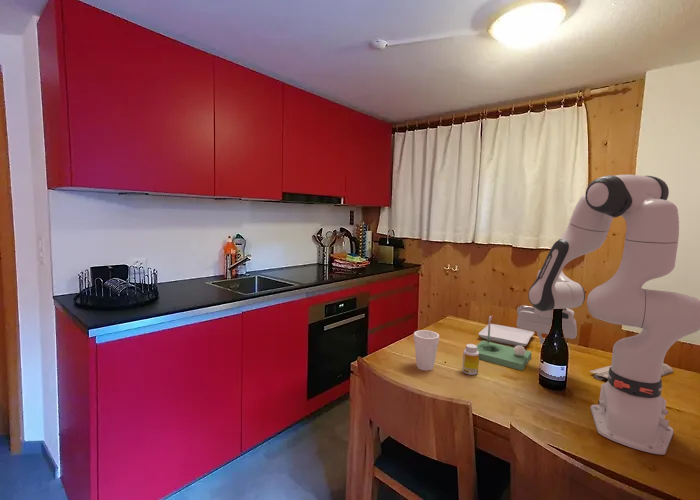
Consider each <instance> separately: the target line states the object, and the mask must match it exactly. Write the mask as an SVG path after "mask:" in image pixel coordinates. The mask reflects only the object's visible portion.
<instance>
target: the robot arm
mask: <svg viewBox="0 0 700 500" xmlns="http://www.w3.org/2000/svg"><path fill="white" fill-rule="evenodd" d="M669 192H670V189H669V187H668V184H667V183H666V182H665V181H664V180H663V179H661V178H659V177H656V176H653V175H636V174H626V173H625V174H616V175H612V174H609V175H605V176H604V175H603V176H601V177H600V176H599V177H598V178H596V179H594V180H592V181H591V182H590V183H588V185H587V187H586V190H585V193H584V194H582V195H581V197H580V198H579V199H578V201H577V203H576V205H575V207H574V208H573V209H574V210H573V212H572V214H571V216H570V219H569V223H568V224H567V225H568V226H567V228H566V229H565V231H564V233H563V234H562V235H561V237H560V238H559V239H558V240H556V241H555V242H554V243H553V245H552V246H551V248H550V250H549V252H548V254H547V255H546V258H545V260H544V262H543V264H542V267H541V269H539V270H538V271H537V276H536V279H535V280H534V282H533V283H532V285H531V286H530V287H529V289H528V301H529V303H530V304H531V305H532V306H531V305H530V306H529V305H523V304H522V305H519V306H518V307H517V308H516V314H517V320H516V328H518V329H523V330H527V331H532V332H534V333H536V334H537V337H538V339H539V344H542V345H544V344H543V343H544V341H545V339H546V338H544V337H543V336H542V334H546V335H548V334H549V332H550V329H551V326H552V319H553V309H563V311H562V329H563V334H564V337H563V338H567V339H571V340H574V339H576V338H577V333H578V330H577V329H578V326H577V325H578V324H577V321H576V319H575V318H574V317H575V311H574V310H573V309H575V308H579V307H582V305H583V304H584V303H585V300H586V307H587V310H588V312H589V314H590V315H591V316H592V317H593V318H595V319H597V320H601V321H604V322H607V323H609V324H612V325H613V324H614V325H619V326H626V327H634V328H640V329H642V330H641V331H640V332H639V333H637V334H635V335H633V336H627V337H623V338H620V339H619V340H617V341H616V342H615V343H614V344H613V347H612V357H611V365H610V366H611V367H610V368H609V372H608V378H607V381H606V382H603V383H601V384H600V385H601V386H600V394H599V400H598V402H597V404H591V405H590V411H591V415H592V417H593V422H594V424H595V427H596V430H597V433H598V434H600V435H601V436H603V437H604V438H607V439H609V440H610V441H612V442H615V443H618V444H621V445H623V446H627V447H629V448H632V449H635V450H637V451H638V450H639V451H642V452H646V453H649V454H655V455H666V453H667V450H668V448H669V444H670V443H671V440H672V438H673V436H674V429H673V427H671V426H670V420H669V419H665V417H666V416H668V415H669V410H668V409H666V407H667V400H666V399H665V398H664V397H662V396H663V395H661V394H662V390H663V380H662V378H661V377H662V376H661V371H662V366H663V363H664V361H665V357H666V354H667V352H668V351H669V349H670V348H671V347H672V346H673V345H674V344H675V343H676V342H677V341H679V340H681V339H682V338H685V337H686V336H688V335H692V334H695V333H697V332H698V331H700V299H698V298H697V297H695V296H692V295H691V296H690V295H686V294H683V293H679V292H675V291H666V290H657V289H649V288H646V289H645V288H643V286H644V285H645V283H647V282H649V281H651V280H655V279H660V278H663V277H665V276H667V275H669V274H671V273H672V272H673V270H674V269H675V267H676V261H677V260H676V259H677V252H678V247H679V246H678V245H679V237H680V236H679V235H680V220H679V218H680V217H679V209H678V207H677V206H676V204H675V203H673V202H672V201H669V200H668V198H669V194H670V193H669ZM620 216H621V218H623V219H624V221H625V223H626V229H625V235H624V236H625V238H624V244H623V245H624V247H623V253H622V256H621V260H620V264H619V267H618V268H617V270H616V272H615V273H614V274H613V275H612V276H611V278H609V279H608V280H607V281H605V282H604V283H602V284H599V285H597V286H595V287H594V288H593V289H592V290H591V291H590V292H589V293H588V295H587V298H586V290H585V289H584V287H583V286H582V284H580V283H579V282H578V281H574V280H572V279H571V278H569V277H568V276H567V275H565V273H564V271H563V269H564V268H565V266H566V265H567V264H569V262H571V261H573V260H574V259H577V258H579V257H582V256H583V255H587V254H590V253H592V252H595V251H597V250H598V249H601V247H602V246H603V244H605V243H604V242H605V241H606V239H607V237H608V234H609V231H610V229H611V225H612V223H613V219H615V218H619V217H620Z"/></svg>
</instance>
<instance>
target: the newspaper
mask: <svg viewBox="0 0 700 500" xmlns="http://www.w3.org/2000/svg"><path fill="white" fill-rule="evenodd" d="M610 367H611V365H607V366H604V367H599V368H595V369H593V370H589V372H590V373H593V374H594V375H593V376H592V378H594V379H595V380H598V381H604V380H608V372H609V368H610ZM671 373H674V370H673V368H672V367H671V366H670V365H668V364H666V363H664V362H663V366H662V371H661V377H664V376H666V375H668V374H671Z"/></svg>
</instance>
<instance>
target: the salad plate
mask: <svg viewBox="0 0 700 500" xmlns="http://www.w3.org/2000/svg"><path fill="white" fill-rule="evenodd" d="M534 335H535V331H530V330H525V329H520V328H518V327H513V326H507V325H501V324H495V323H491V324H490V339H489V342H494V341H495V342H494V343H498V344H502V345H507V346H513V347H515V346H518V345H520V346H522V347H526V346H527V345H528V343H529V342H530V341H531V338H532V337H533V336H534ZM478 336H479V337H480V338H482V339H483V340H484V339H485V340H486V341H487V340H488V324H487V325H486V326H485V327H484V328H483V329H482V330H481V331H479V332H478Z"/></svg>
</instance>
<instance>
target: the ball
mask: <svg viewBox="0 0 700 500" xmlns="http://www.w3.org/2000/svg"><path fill="white" fill-rule="evenodd" d="M513 348H514V353H515V354H516V355H517V356H523V355H524V354H525V350H526V349H525V346H520V345H518V346H514V347H513Z"/></svg>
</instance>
